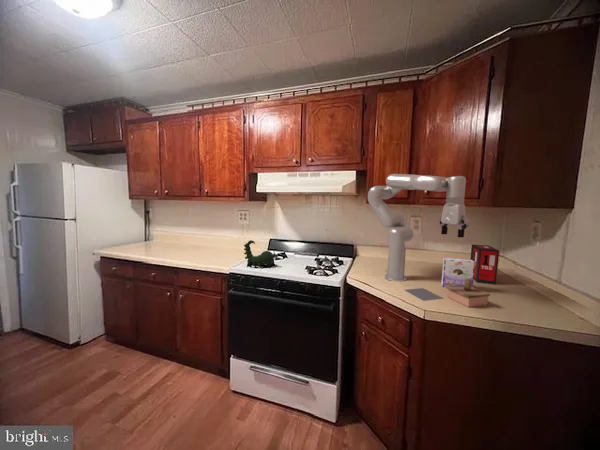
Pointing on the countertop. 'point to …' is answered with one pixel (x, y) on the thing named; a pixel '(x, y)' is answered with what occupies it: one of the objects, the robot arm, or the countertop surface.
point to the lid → (468, 290)
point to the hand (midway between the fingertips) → (452, 235)
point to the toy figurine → (260, 259)
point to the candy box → (456, 271)
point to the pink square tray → (467, 299)
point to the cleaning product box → (485, 263)
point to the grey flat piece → (423, 294)
